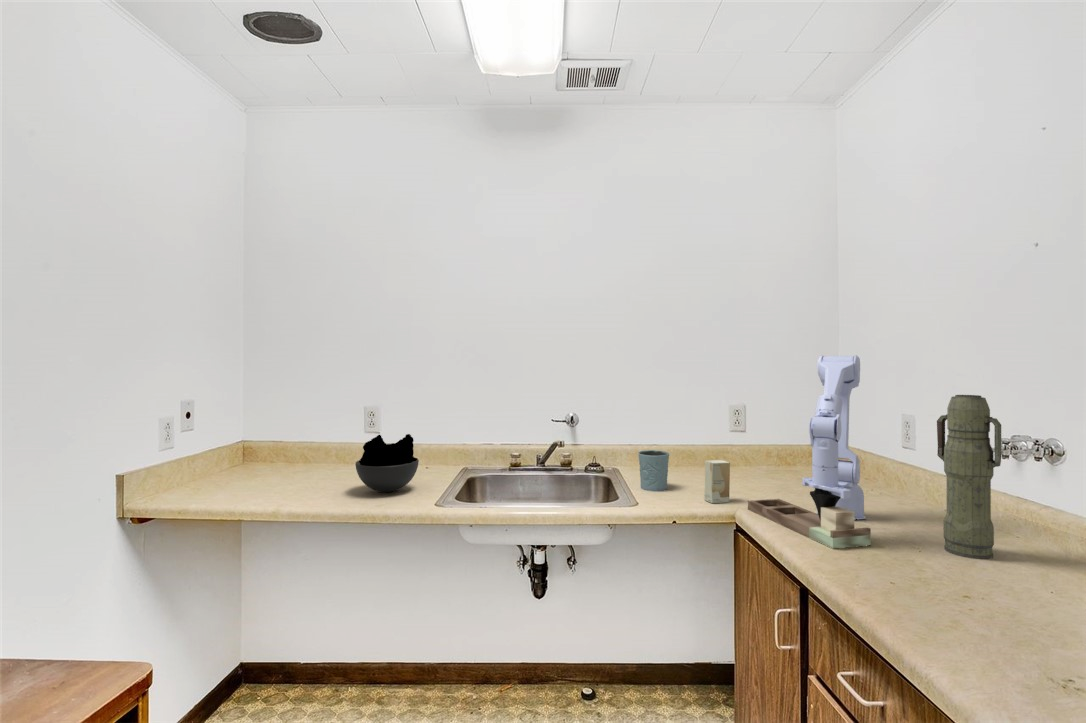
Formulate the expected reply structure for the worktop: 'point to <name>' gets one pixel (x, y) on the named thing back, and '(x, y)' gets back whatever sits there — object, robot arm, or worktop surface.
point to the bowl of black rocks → (387, 464)
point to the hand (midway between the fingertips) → (825, 521)
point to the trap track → (809, 524)
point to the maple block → (836, 518)
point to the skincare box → (717, 481)
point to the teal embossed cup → (653, 470)
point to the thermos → (968, 475)
